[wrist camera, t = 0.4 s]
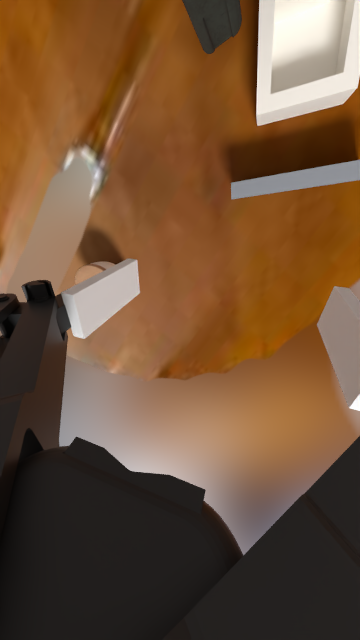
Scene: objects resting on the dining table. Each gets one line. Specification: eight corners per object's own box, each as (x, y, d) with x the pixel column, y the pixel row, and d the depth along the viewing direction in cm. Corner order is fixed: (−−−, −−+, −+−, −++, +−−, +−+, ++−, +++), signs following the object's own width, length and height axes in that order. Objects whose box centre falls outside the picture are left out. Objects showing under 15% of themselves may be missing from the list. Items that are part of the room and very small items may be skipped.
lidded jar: (90, 263, 51) (59, 275, 43) (124, 249, 46) (96, 260, 39) (110, 302, 55) (85, 320, 48) (143, 294, 50) (122, 312, 43)
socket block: (260, 16, 25) (259, -19, 21) (365, -29, 22) (388, -81, 18) (257, 126, 30) (256, 115, 26) (343, 103, 26) (357, 87, 22)
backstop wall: (235, 184, 34) (231, 182, 29) (358, 162, 28) (377, 156, 24) (236, 198, 35) (231, 199, 30) (354, 180, 29) (372, 177, 24)
